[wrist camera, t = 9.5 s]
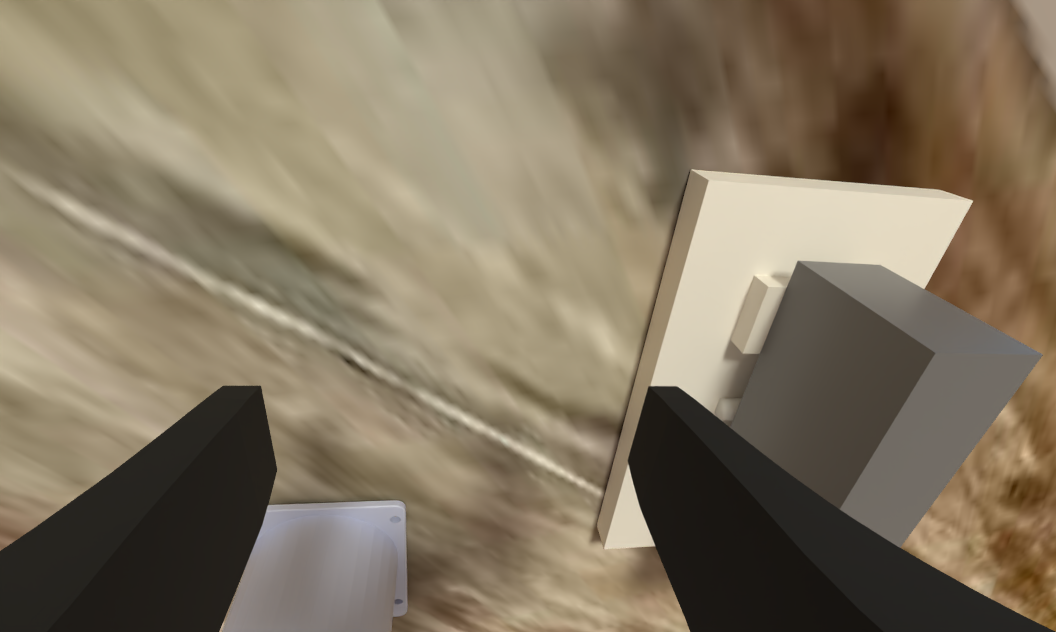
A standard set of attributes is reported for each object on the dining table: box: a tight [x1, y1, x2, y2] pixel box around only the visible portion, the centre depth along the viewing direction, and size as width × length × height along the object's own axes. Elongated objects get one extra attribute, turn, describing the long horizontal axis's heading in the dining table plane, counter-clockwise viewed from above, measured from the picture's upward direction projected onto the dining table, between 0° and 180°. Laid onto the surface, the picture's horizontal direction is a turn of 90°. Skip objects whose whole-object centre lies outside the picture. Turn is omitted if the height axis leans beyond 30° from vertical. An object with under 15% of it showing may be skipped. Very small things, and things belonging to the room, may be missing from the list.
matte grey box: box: [730, 261, 1043, 548], centre depth 20 cm, size 15×4×6 cm, turn 174°
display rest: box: [597, 170, 973, 549], centre depth 23 cm, size 20×11×2 cm, turn 174°
